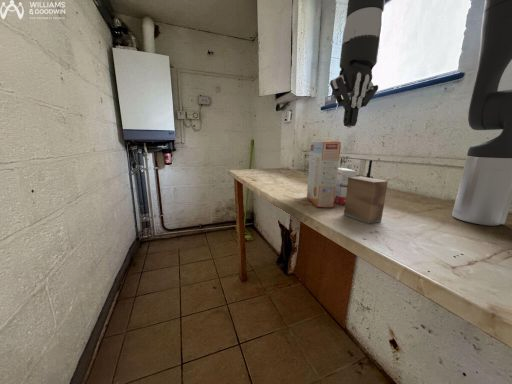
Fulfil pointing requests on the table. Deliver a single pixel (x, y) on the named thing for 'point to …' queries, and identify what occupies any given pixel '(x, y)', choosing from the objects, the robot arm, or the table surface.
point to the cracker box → (323, 173)
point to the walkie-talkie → (369, 170)
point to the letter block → (365, 199)
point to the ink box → (342, 184)
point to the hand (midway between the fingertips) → (349, 126)
